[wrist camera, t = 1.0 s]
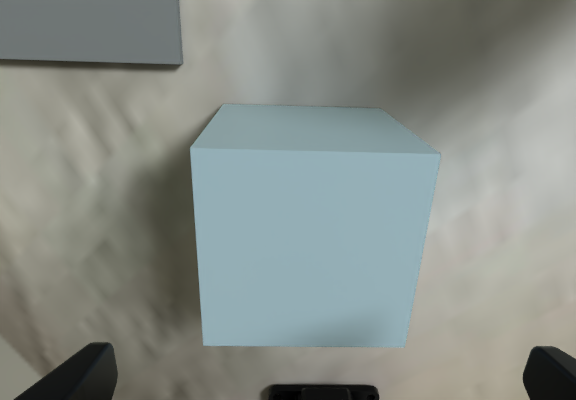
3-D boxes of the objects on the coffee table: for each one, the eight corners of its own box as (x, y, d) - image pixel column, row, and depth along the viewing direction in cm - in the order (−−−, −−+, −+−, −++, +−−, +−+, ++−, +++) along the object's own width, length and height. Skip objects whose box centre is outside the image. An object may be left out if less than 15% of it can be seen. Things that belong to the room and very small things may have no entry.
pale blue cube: (363, 245, 20) (404, 347, 13) (227, 242, 20) (203, 345, 13) (380, 108, 17) (441, 154, 11) (223, 103, 17) (190, 147, 11)
